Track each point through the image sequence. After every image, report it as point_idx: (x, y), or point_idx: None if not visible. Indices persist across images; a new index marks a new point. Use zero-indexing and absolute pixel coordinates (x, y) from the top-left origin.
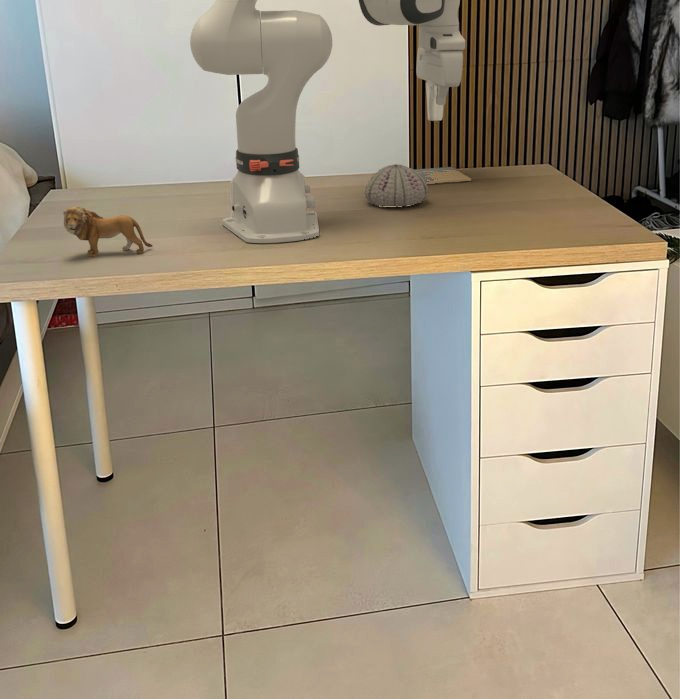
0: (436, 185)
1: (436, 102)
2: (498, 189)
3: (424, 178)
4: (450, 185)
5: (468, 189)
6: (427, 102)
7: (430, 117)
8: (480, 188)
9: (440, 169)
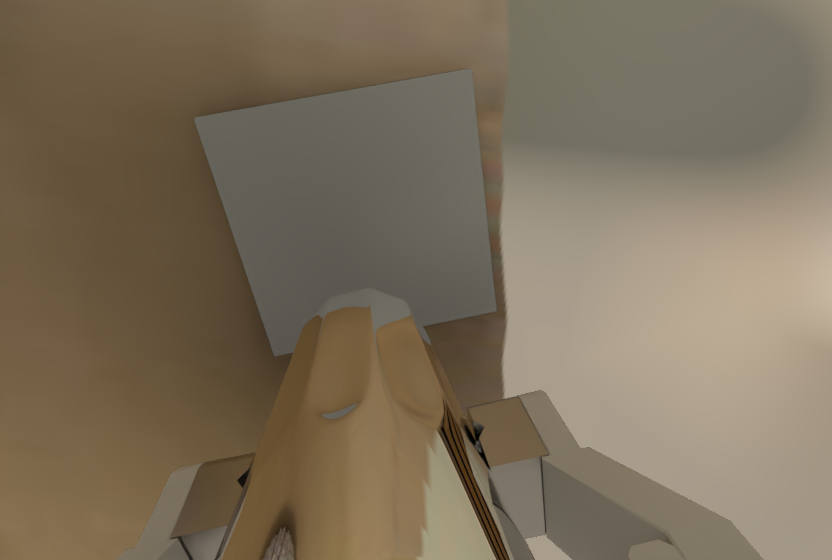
0: (208, 204)
1: (234, 463)
2: (140, 417)
3: (276, 162)
4: (208, 262)
5: (132, 319)
6: (357, 366)
7: (316, 314)
8: (154, 363)
9: (457, 260)
